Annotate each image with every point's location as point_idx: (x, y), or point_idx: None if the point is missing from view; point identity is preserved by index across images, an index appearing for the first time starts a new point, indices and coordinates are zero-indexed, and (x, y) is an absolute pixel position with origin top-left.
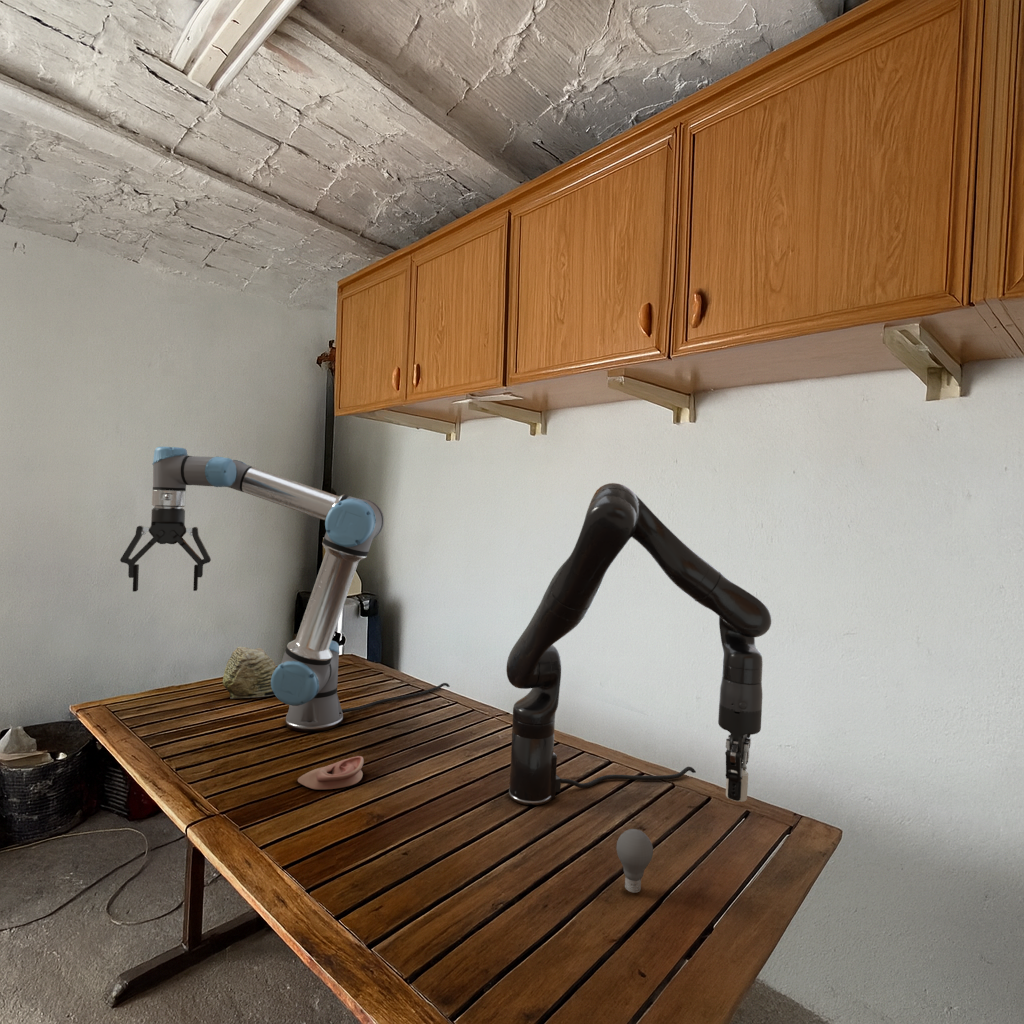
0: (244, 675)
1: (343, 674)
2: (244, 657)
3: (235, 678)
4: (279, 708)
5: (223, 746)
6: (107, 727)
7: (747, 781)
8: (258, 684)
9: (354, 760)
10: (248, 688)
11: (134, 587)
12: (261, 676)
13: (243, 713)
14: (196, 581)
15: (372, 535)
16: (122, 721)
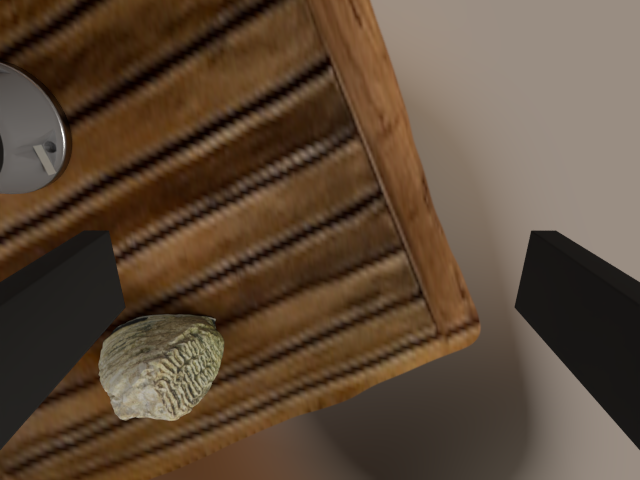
0: (168, 334)
1: None
2: (152, 365)
3: (188, 329)
4: None
5: (183, 24)
6: (423, 209)
7: None
8: (149, 329)
9: None
10: (171, 322)
11: (563, 243)
12: (135, 338)
13: (175, 227)
14: (32, 265)
15: None
16: (400, 236)
